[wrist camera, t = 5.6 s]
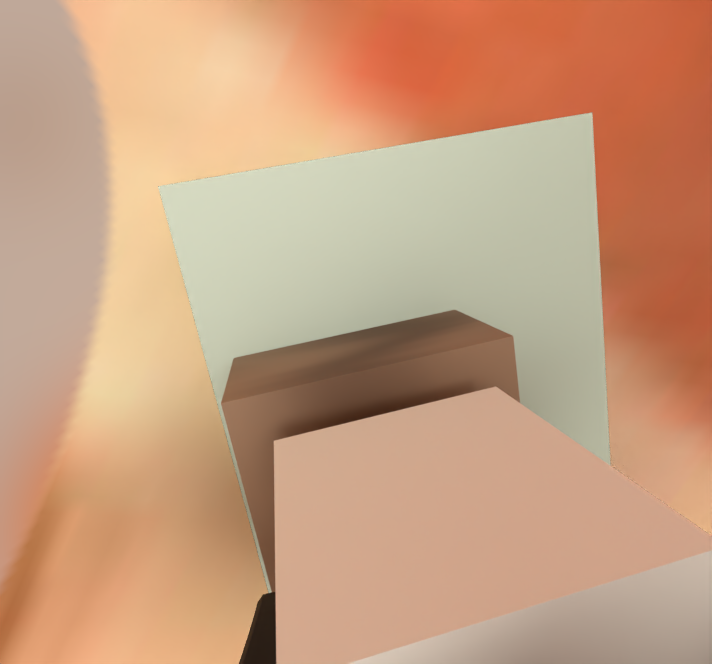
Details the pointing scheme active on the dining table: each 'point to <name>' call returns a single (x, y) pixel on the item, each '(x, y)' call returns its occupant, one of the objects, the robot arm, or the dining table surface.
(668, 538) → the peach block
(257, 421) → the walnut base
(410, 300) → the board
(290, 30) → the dining table surface
